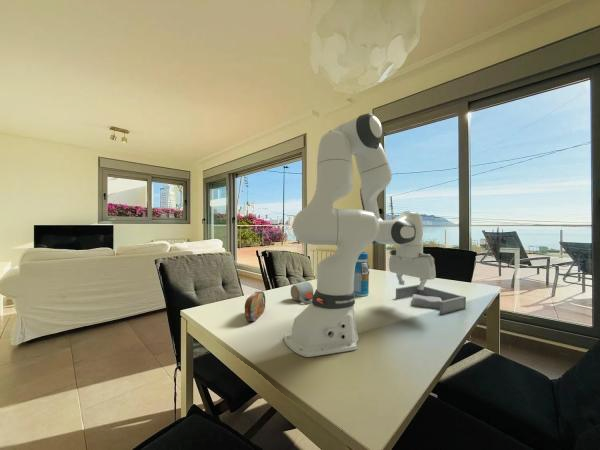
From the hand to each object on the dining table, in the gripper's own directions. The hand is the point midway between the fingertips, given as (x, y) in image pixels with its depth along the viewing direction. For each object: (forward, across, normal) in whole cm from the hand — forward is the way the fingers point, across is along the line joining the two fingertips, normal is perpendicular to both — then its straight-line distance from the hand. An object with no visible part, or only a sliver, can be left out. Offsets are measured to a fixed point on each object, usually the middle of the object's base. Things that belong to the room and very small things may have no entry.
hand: (410, 287), depth 105 cm
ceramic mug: (+9, +28, +34) cm, 45 cm away
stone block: (+9, +2, -12) cm, 15 cm away
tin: (+10, +19, +58) cm, 62 cm away
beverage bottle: (+8, +26, +4) cm, 28 cm away
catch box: (+9, +3, -14) cm, 16 cm away
